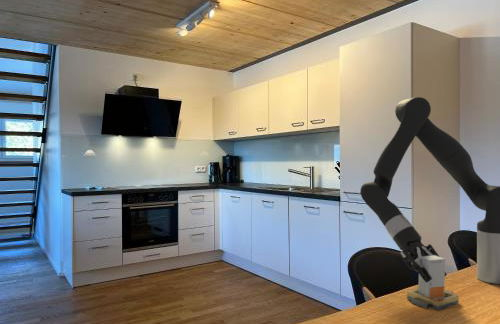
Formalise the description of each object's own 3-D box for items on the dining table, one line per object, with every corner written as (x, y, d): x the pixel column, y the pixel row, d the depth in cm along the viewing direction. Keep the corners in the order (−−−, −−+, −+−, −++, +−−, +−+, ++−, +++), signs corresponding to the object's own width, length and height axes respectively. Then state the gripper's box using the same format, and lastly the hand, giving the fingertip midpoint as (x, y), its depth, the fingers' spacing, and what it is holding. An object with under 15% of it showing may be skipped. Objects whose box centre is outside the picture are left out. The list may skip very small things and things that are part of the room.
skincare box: (428, 300, 106) (428, 260, 106) (417, 295, 110) (418, 256, 110) (445, 298, 108) (445, 258, 107) (434, 293, 112) (434, 254, 112)
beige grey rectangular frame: (429, 292, 116) (429, 284, 116) (461, 302, 108) (461, 294, 108) (404, 300, 110) (403, 292, 110) (435, 312, 101) (435, 303, 101)
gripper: (395, 227, 111) (430, 276, 101) (423, 223, 119) (459, 268, 109) (380, 241, 116) (413, 289, 106) (409, 236, 123) (442, 281, 113)
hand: (436, 278), depth 107 cm, fingers closed on skincare box, 6 cm apart
